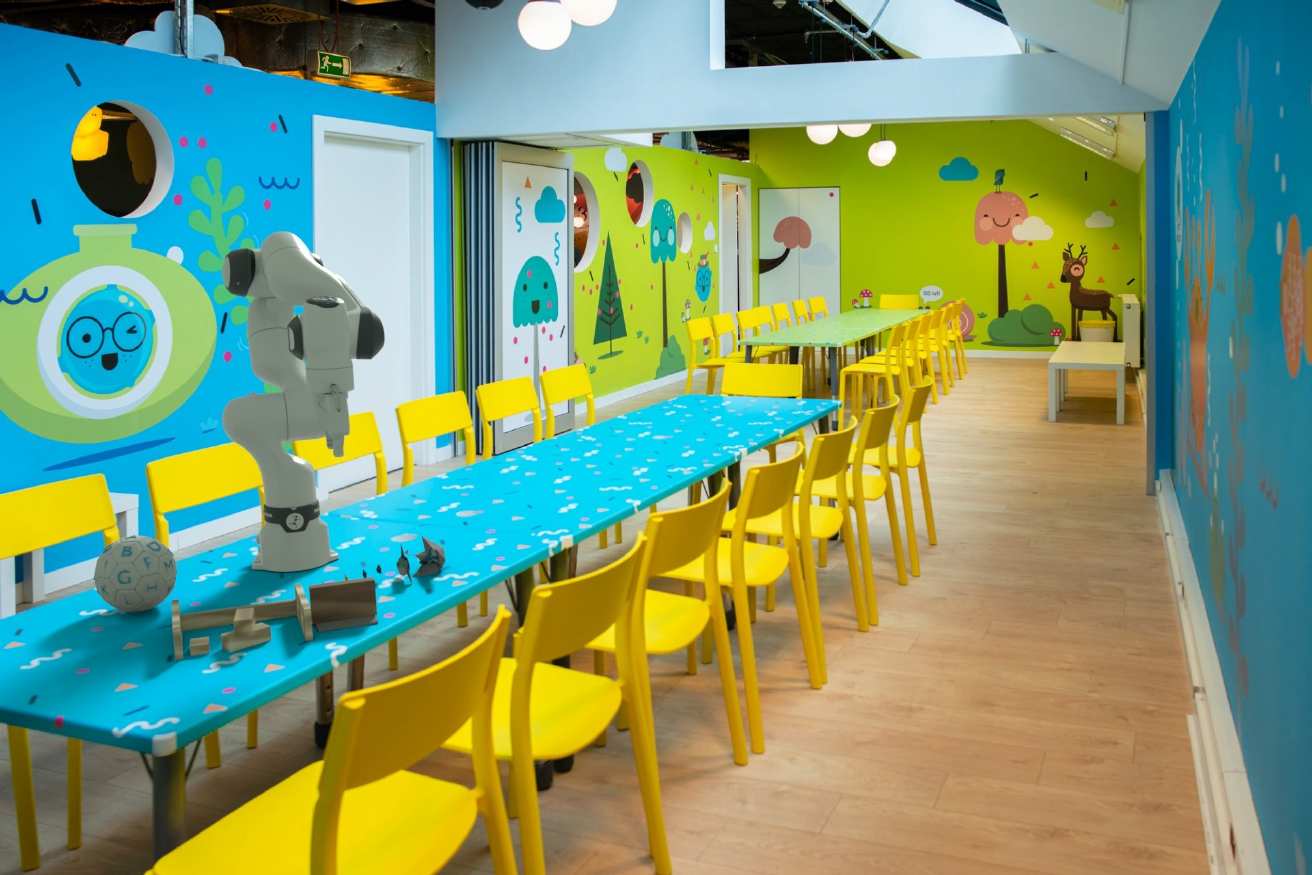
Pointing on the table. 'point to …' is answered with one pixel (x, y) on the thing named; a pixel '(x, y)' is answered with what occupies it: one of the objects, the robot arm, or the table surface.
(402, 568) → the toy fish set
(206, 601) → the table surface
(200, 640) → the offcut
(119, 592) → the puzzle ball
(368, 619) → the mat
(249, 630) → the offcut
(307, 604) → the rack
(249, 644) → the offcut
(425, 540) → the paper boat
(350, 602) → the walnut board
